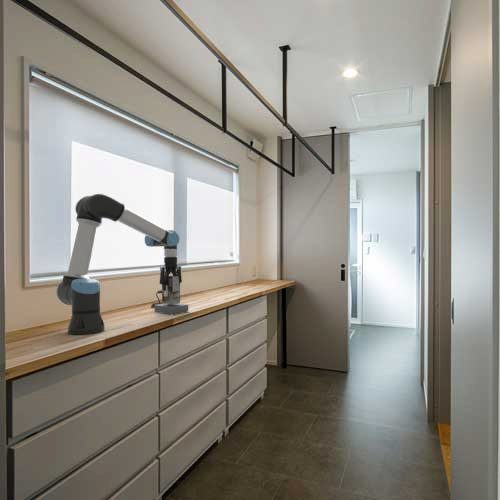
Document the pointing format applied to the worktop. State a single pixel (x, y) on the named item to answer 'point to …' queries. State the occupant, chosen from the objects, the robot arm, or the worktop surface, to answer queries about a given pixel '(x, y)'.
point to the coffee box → (172, 291)
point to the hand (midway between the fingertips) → (171, 295)
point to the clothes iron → (158, 299)
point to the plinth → (171, 308)
